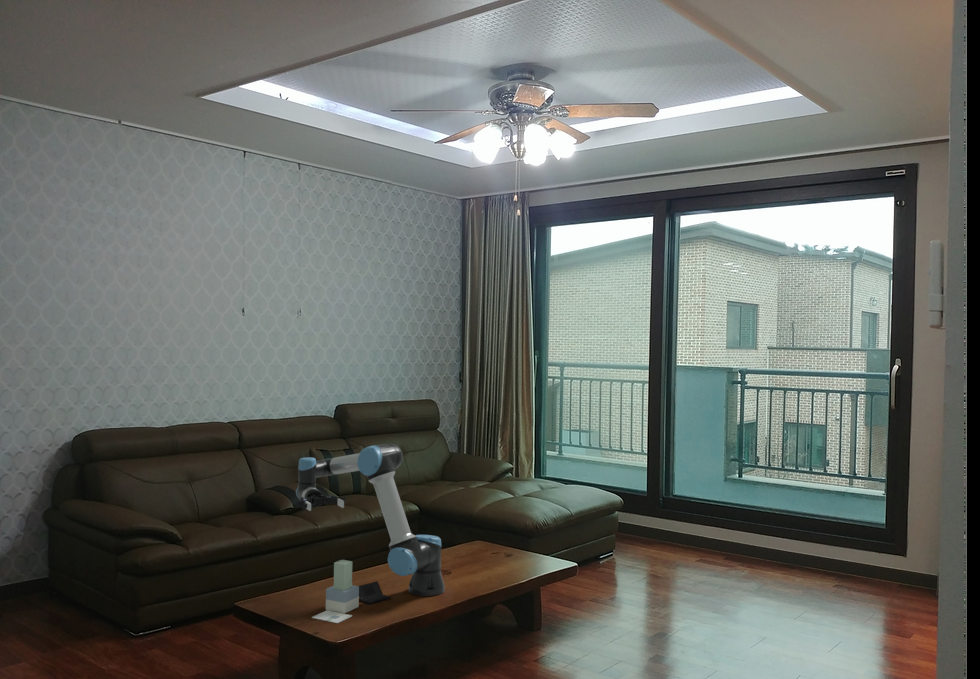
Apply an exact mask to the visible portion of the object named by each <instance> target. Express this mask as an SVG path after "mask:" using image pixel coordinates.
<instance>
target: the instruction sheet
mask: <svg viewBox="0 0 980 679" xmlns="http://www.w3.org/2000/svg"><path fill="white" fill-rule="evenodd" d="M351 617H353V615H352V614H346V613H339V612H335V611H330V610H324V611H323V612H320V613H318V614H316V615H313V616H311V619H315V620H319V621H325V622H330V623H335V624H339V623H341V622H344V621H346V620H347V619H349V618H351Z"/></svg>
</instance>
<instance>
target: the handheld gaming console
mask: <svg viewBox="0 0 980 679" xmlns="http://www.w3.org/2000/svg"><path fill="white" fill-rule="evenodd" d="M358 586H359V601H360V603H364V604H365V605H369V606H371V605H374V604H377V603H381V601H382V602H385V601H388V600H391V596H389V595H386V594H383V591H382V589H381V586H380V584H379V582H378V581H373V582H368V583H365V584H361V585H358Z"/></svg>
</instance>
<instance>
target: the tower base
mask: <svg viewBox="0 0 980 679" xmlns="http://www.w3.org/2000/svg"><path fill="white" fill-rule="evenodd" d="M359 586H360V585H353V584H352V587H351V588H349V589H346V590H339V589H334V585H332V586H330V587H327V588H325V611H327V610H328V611H333V612H338V613H343V614H346V613H349V612H351V611H353V610H354V609H358V608H359V607H360V606H359V601H360V597H359Z"/></svg>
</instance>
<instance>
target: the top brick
mask: <svg viewBox="0 0 980 679" xmlns="http://www.w3.org/2000/svg"><path fill="white" fill-rule="evenodd" d="M352 585H353V561H351V560H346V559H340V560H337V561H335V562H333V586H334V589H339V590H346V589H349V588H351V587H352Z"/></svg>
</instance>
